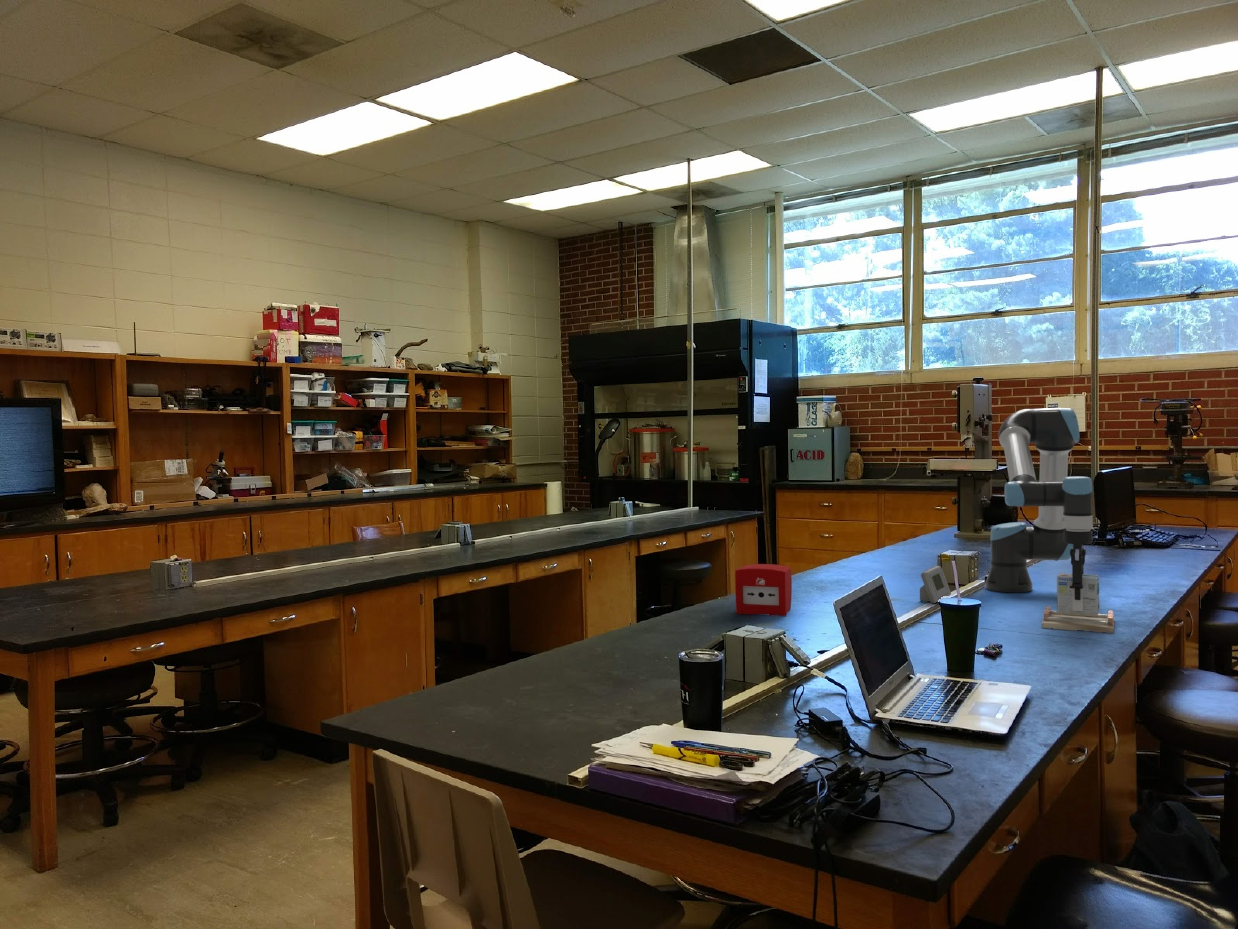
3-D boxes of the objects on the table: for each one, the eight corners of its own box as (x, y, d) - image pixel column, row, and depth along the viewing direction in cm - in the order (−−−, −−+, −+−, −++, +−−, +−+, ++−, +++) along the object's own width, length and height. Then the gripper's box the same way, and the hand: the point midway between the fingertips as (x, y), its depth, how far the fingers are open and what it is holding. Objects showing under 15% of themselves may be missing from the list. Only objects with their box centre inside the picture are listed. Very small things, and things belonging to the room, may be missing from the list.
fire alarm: (735, 614, 284) (734, 568, 284) (743, 607, 294) (742, 562, 294) (785, 616, 278) (784, 569, 277) (792, 609, 288) (791, 564, 287)
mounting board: (1046, 615, 269) (1046, 610, 269) (1114, 620, 260) (1114, 615, 260) (1041, 627, 253) (1041, 622, 253) (1113, 633, 244) (1113, 628, 244)
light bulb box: (1100, 611, 256) (1099, 574, 256) (1098, 615, 251) (1098, 578, 250) (1059, 608, 262) (1058, 572, 262) (1056, 612, 257) (1056, 575, 256)
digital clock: (935, 605, 289) (935, 573, 288) (910, 601, 295) (909, 570, 295) (959, 598, 299) (959, 566, 299) (935, 594, 306) (934, 564, 306)
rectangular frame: (1046, 612, 266) (1046, 606, 266) (1113, 617, 257) (1113, 610, 257) (1043, 620, 256) (1043, 613, 256) (1112, 625, 248) (1112, 618, 248)
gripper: (1065, 525, 266) (1066, 601, 267) (1061, 533, 249) (1061, 613, 250) (1093, 526, 262) (1094, 602, 263) (1091, 534, 245) (1091, 616, 246)
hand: (1078, 608), depth 256 cm, fingers closed on light bulb box, 7 cm apart
